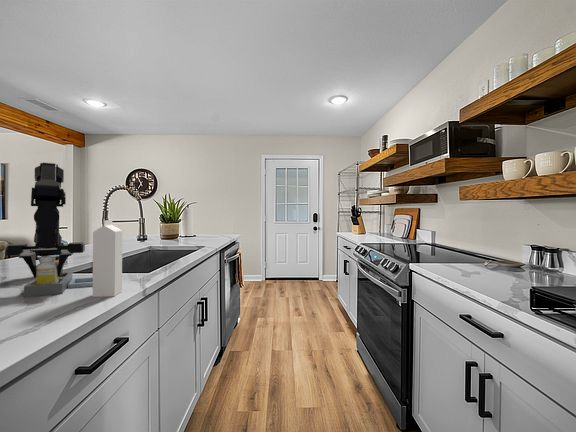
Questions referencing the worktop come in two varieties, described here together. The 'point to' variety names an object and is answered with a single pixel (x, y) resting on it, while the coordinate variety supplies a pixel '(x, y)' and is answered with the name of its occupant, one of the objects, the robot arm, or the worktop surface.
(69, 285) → the tray frame
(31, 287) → the shallow grey tray
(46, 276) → the supplement bottle
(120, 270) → the milk
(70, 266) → the worktop surface
